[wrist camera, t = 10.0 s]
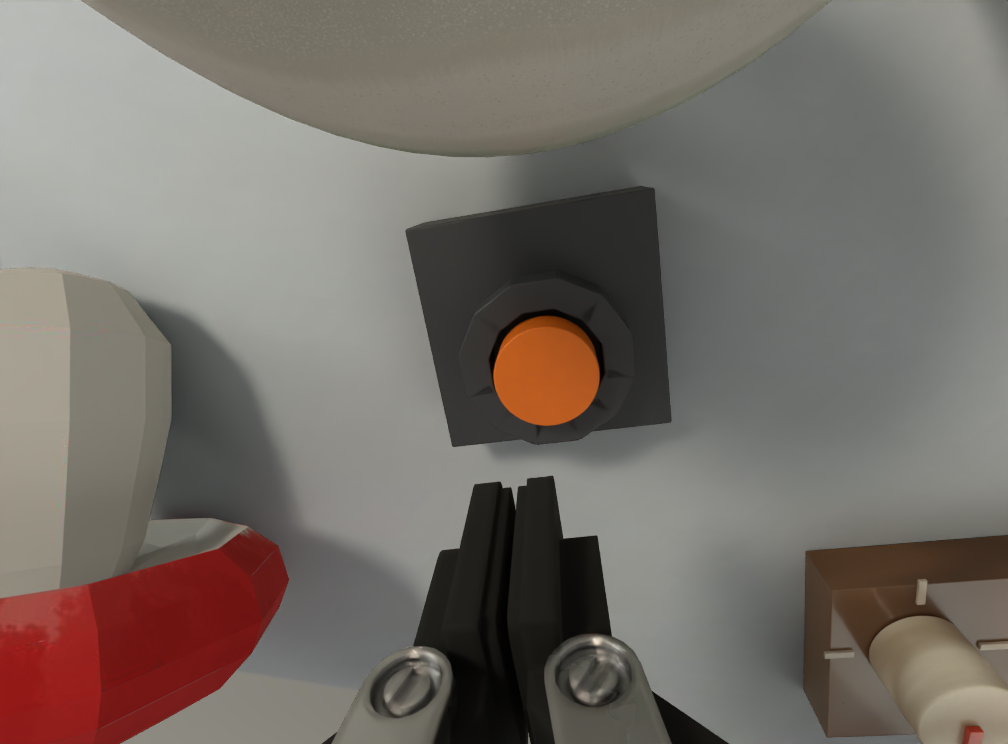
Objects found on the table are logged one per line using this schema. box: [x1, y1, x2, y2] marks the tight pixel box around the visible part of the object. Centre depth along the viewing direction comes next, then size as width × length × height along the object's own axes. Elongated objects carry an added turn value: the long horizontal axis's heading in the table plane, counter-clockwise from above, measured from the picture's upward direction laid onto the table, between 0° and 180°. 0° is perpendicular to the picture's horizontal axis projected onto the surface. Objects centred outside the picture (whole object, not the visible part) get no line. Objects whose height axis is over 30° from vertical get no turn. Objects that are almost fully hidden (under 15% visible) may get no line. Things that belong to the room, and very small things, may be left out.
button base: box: [406, 186, 672, 447], centre depth 24 cm, size 10×10×5 cm
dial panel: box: [804, 535, 1008, 738], centre depth 29 cm, size 12×10×3 cm
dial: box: [869, 616, 1008, 744], centre depth 25 cm, size 4×4×4 cm
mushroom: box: [0, 267, 289, 744], centre depth 24 cm, size 20×19×20 cm
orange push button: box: [494, 316, 600, 426], centre depth 22 cm, size 4×4×2 cm
